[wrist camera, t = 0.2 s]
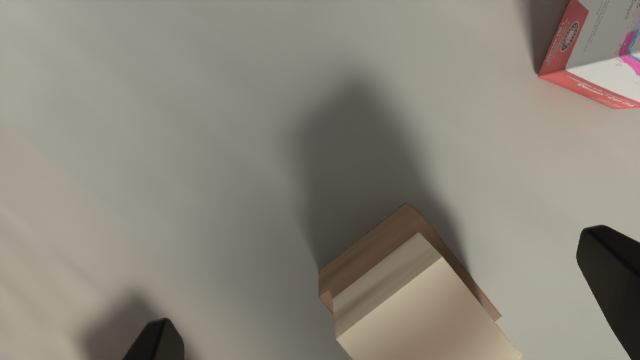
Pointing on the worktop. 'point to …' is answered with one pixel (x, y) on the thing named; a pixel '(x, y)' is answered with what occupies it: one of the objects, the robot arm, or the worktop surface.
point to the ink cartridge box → (598, 52)
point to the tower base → (383, 244)
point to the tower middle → (416, 312)
